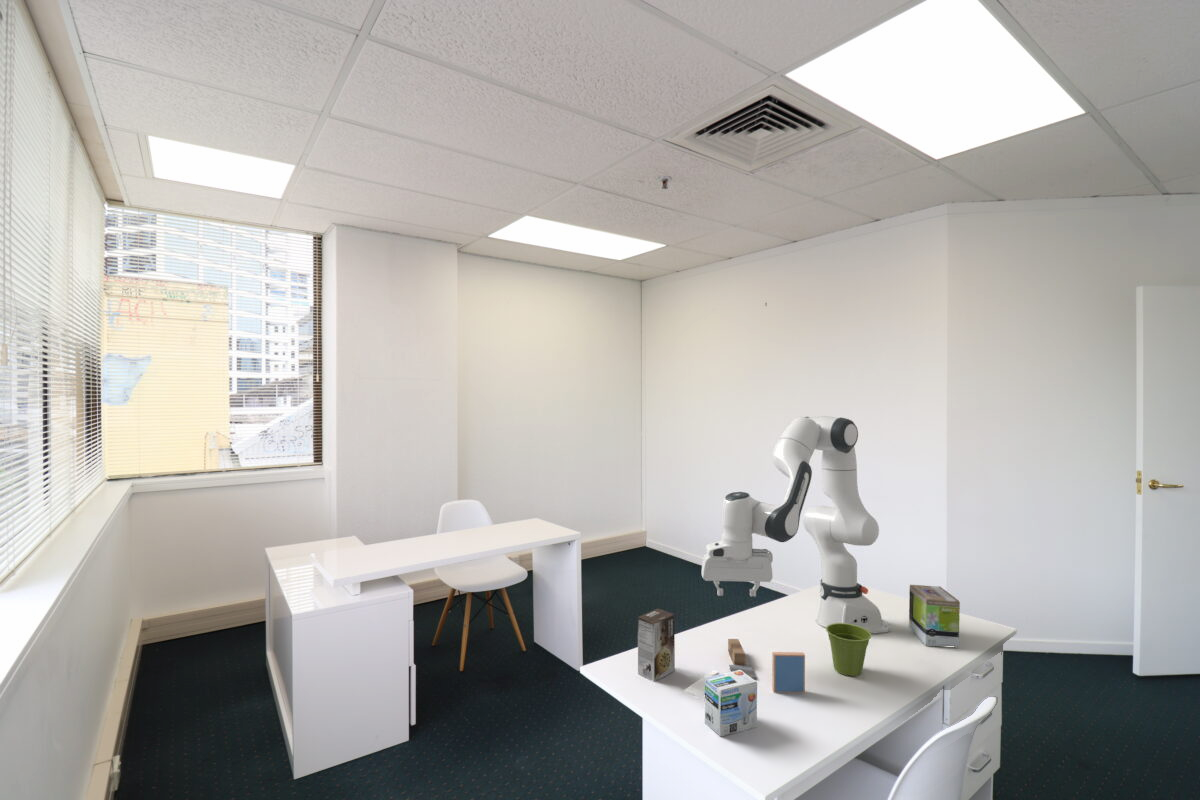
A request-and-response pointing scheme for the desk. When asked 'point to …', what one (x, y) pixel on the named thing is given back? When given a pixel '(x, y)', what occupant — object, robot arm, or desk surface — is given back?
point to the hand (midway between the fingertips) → (736, 595)
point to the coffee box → (656, 644)
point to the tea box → (934, 615)
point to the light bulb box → (730, 702)
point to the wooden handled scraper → (739, 658)
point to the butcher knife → (699, 685)
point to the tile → (788, 672)
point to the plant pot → (848, 647)
